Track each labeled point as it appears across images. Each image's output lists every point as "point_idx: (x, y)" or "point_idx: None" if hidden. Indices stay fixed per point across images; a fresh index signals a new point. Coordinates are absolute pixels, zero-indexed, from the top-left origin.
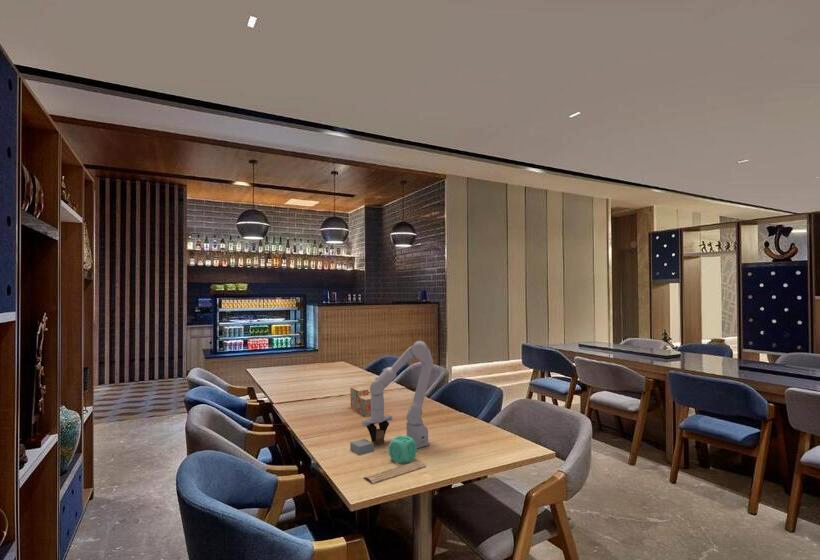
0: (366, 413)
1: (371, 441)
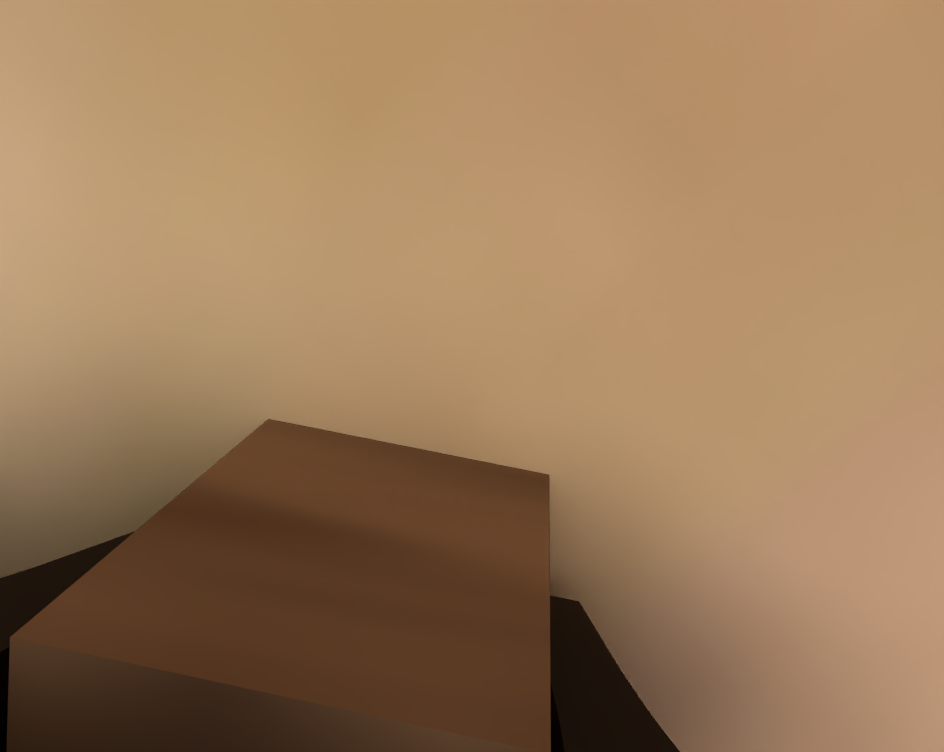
0: None
1: (250, 438)
